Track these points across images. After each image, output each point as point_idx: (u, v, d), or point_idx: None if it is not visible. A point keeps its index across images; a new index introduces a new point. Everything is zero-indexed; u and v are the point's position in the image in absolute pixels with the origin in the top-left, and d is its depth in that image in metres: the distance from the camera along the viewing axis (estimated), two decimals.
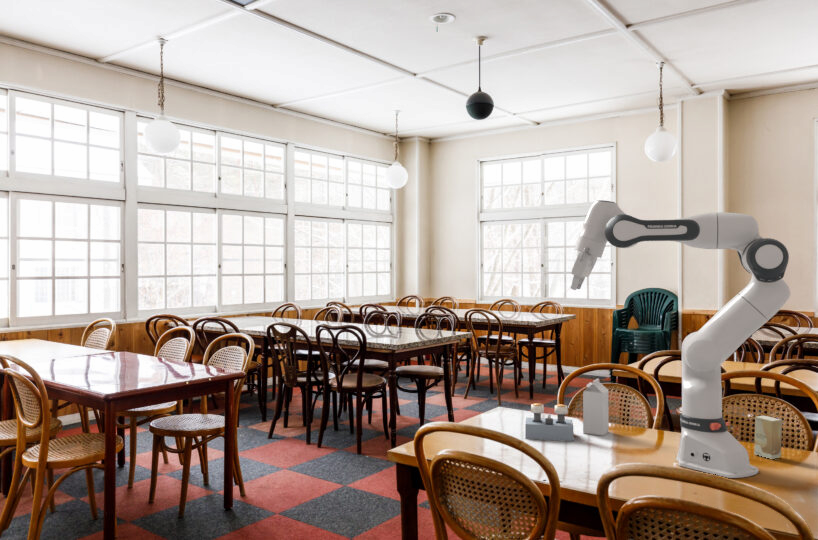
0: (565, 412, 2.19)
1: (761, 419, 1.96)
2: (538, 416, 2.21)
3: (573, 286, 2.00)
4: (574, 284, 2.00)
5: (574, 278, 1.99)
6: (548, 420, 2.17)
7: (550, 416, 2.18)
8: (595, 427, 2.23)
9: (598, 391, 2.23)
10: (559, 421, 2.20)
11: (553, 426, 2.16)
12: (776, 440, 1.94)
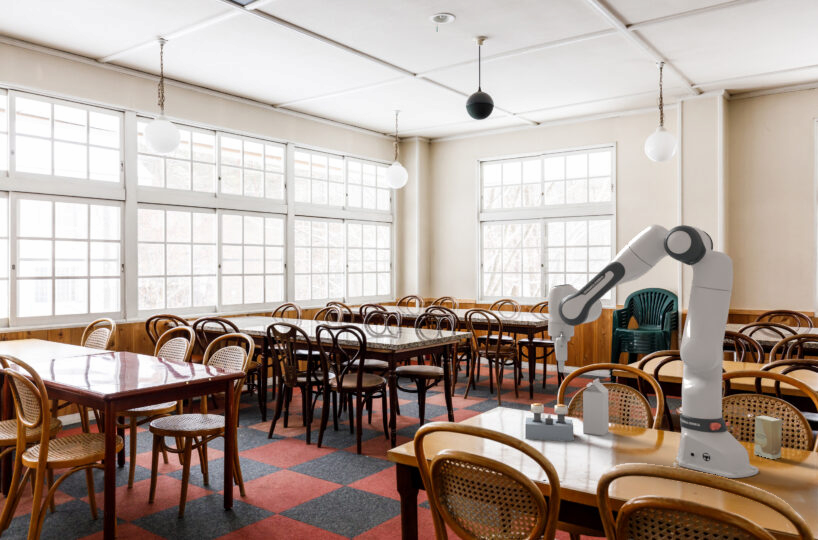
0: (565, 412, 2.19)
1: (761, 419, 1.96)
2: (538, 416, 2.21)
3: (560, 369, 2.17)
4: (561, 367, 2.17)
5: (559, 362, 2.16)
6: (548, 420, 2.17)
7: (550, 416, 2.18)
8: (595, 427, 2.23)
9: (598, 391, 2.23)
10: (559, 421, 2.20)
11: (553, 426, 2.16)
12: (776, 440, 1.94)
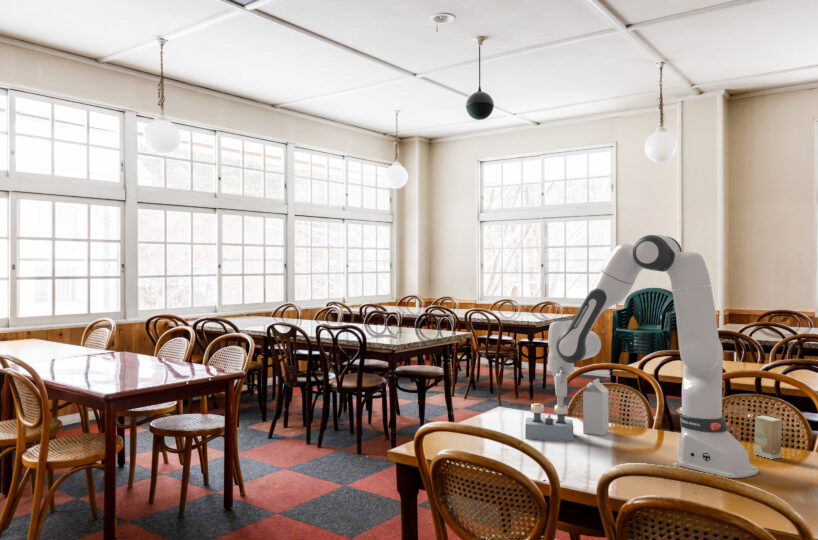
0: (565, 412, 2.19)
1: (761, 419, 1.96)
2: (538, 416, 2.21)
3: (560, 403, 2.19)
4: (560, 401, 2.19)
5: None
6: (548, 420, 2.17)
7: (550, 416, 2.18)
8: (595, 427, 2.23)
9: (598, 391, 2.23)
10: (559, 421, 2.20)
11: (553, 426, 2.16)
12: (776, 440, 1.94)
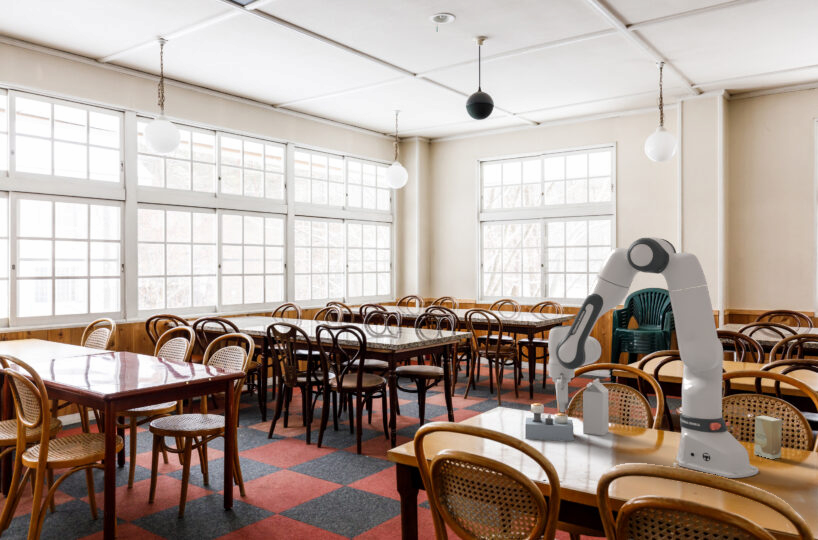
0: (565, 421, 2.19)
1: (761, 419, 1.96)
2: (538, 416, 2.21)
3: (561, 409, 2.19)
4: (561, 407, 2.19)
5: (560, 402, 2.18)
6: (548, 420, 2.17)
7: (550, 416, 2.18)
8: (595, 427, 2.23)
9: (598, 391, 2.23)
10: None
11: (553, 426, 2.16)
12: (776, 440, 1.94)
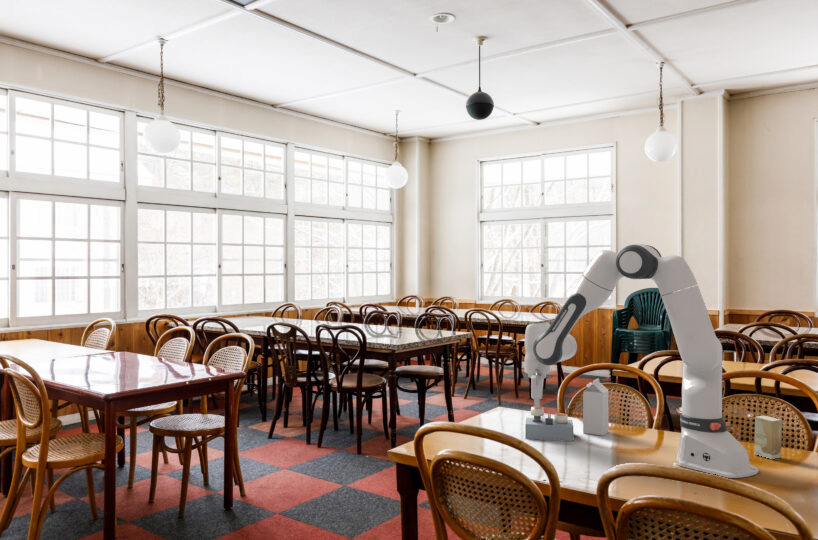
0: (565, 421, 2.19)
1: (761, 419, 1.96)
2: (538, 419, 2.21)
3: (536, 404, 2.21)
4: (536, 403, 2.21)
5: None
6: (548, 420, 2.17)
7: (550, 416, 2.18)
8: (595, 427, 2.23)
9: (598, 391, 2.23)
10: None
11: (553, 426, 2.16)
12: (776, 440, 1.94)
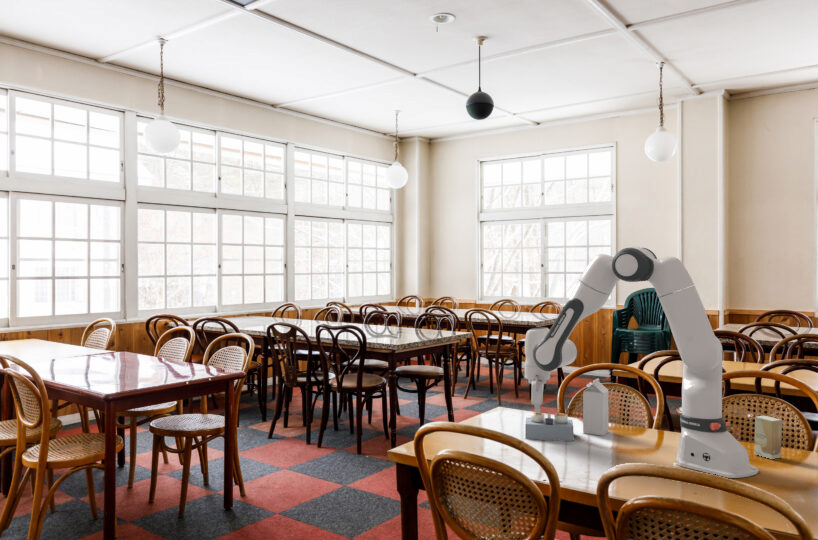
0: (565, 421, 2.19)
1: (761, 419, 1.96)
2: None
3: (536, 410, 2.21)
4: (537, 408, 2.21)
5: None
6: (548, 420, 2.17)
7: (550, 416, 2.18)
8: (595, 427, 2.23)
9: (598, 391, 2.23)
10: None
11: (553, 426, 2.16)
12: (776, 440, 1.94)
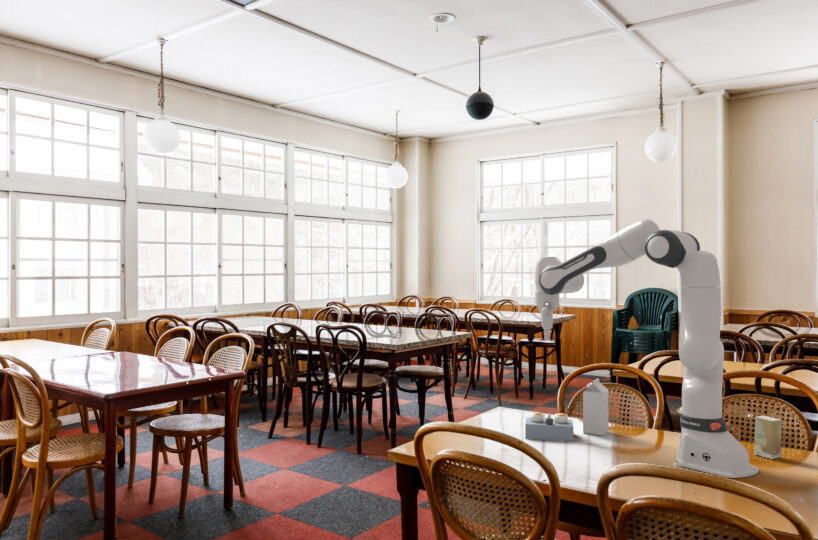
0: (565, 421, 2.19)
1: (761, 419, 1.96)
2: None
3: (546, 336, 2.30)
4: (546, 335, 2.30)
5: (545, 330, 2.29)
6: (548, 420, 2.17)
7: (550, 416, 2.18)
8: (595, 427, 2.23)
9: (598, 391, 2.23)
10: None
11: (553, 426, 2.16)
12: (776, 440, 1.94)
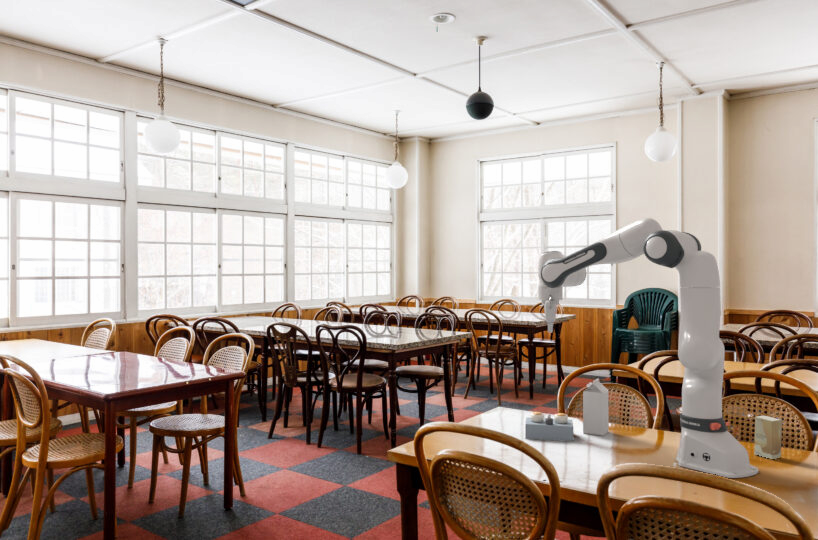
0: (565, 421, 2.19)
1: (761, 419, 1.96)
2: None
3: (549, 330, 2.33)
4: (550, 328, 2.33)
5: (548, 323, 2.32)
6: (548, 420, 2.17)
7: (550, 416, 2.18)
8: (595, 427, 2.23)
9: (598, 391, 2.23)
10: None
11: (553, 426, 2.16)
12: (776, 440, 1.94)
